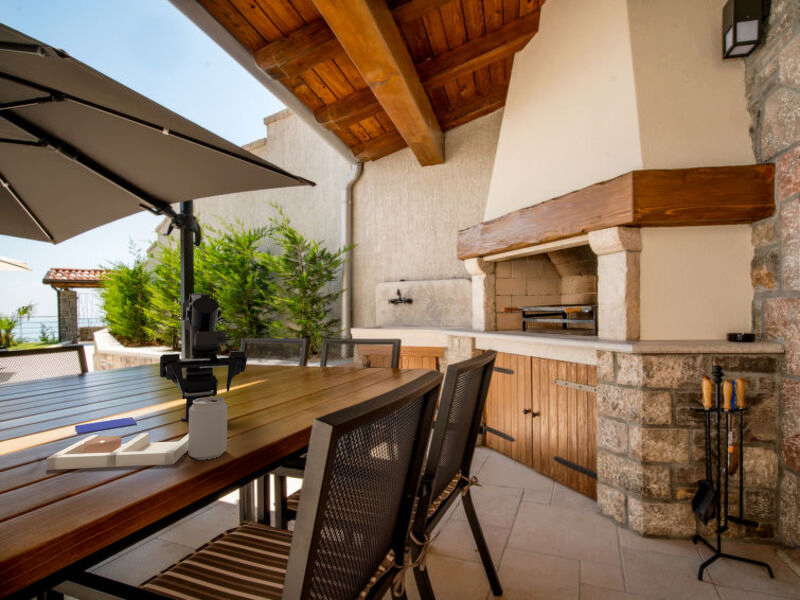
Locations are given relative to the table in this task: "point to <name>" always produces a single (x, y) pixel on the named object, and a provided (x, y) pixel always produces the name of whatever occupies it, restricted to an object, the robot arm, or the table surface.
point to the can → (207, 428)
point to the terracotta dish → (102, 444)
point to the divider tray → (120, 454)
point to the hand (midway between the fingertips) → (206, 392)
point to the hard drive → (105, 425)
